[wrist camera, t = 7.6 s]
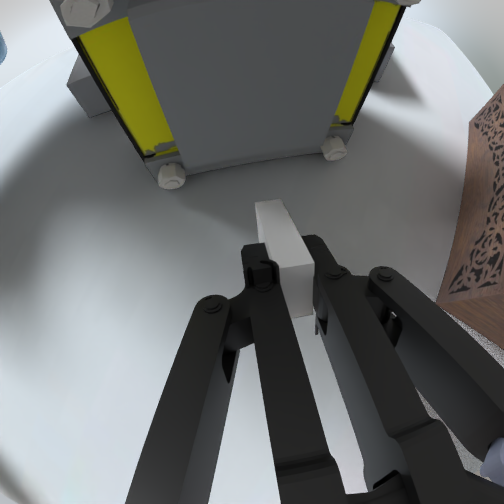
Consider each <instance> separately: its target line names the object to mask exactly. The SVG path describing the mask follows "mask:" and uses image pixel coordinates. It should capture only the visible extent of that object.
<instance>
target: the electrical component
mask: <svg viewBox="0 0 504 504" xmlns="http://www.w3.org/2000/svg"><path fill="white" fill-rule="evenodd" d="M420 1H421V0H50V2H51V4H52V6H53V8H54V10H55V12H56V14H57V16H58V18H59V20H60V22H61V24H62V25H63V27H64V29H65V31H66V33H67V35H68V36H69V38H70V40H71V41H72V42H73V44H74V46H75V48H76V50H77V52H78V53H79V55H80V57H81V59H82V60H83V62H84V64H85V66H86V67H87V69H88V71H89V73H90V74H91V76H92V78H93V80H94V81H95V83H96V85H97V86H98V88H99V90H100V92H101V93H102V95H103V97H104V98H105V100H106V102H107V103H108V105H109V107H110V108H111V110H112V112H113V113H114V115H115V116H116V118H117V120H118V121H119V123H120V125H121V126H122V128H123V129H124V131H125V133H126V134H127V136H128V138H129V139H130V141H131V142H132V144H133V145H134V147H135V149H136V150H137V152H138V153H139V155H140V157H141V158H142V160H143V161H144V163H145V165H146V167H147V168H148V170H149V171H150V173H151V174H152V176H153V177H154V179H155V180H156V182H157V183H159V186H160V187H161V188H163V189H176V188H179V187H181V186H182V185H183V184H184V182H185V180H186V179H185V176H188V175H192V174H197V173H201V172H206V171H211V170H216V169H221V168H226V167H231V166H236V165H241V164H247V163H253V162H259V161H265V160H271V159H277V158H284V157H291V156H298V155H306V154H313V153H322V152H323V155H324V157H325V159H326V160H327V161H335V160H338V159H341V158H343V157H344V156H345V155H346V154H347V153H348V152H347V150H346V147H345V146H346V144H347V142H348V140H349V138H350V136H351V134H352V132H353V130H354V128H353V124H354V122H355V120H356V118H357V116H358V114H359V111H360V109H361V107H362V105H363V103H364V101H365V99H366V97H367V95H368V92H369V90H370V88H371V86H372V84H373V82H374V79H375V77H376V75H377V73H378V71H379V69H380V66H381V64H382V62H383V60H384V57H385V55H386V53H387V51H388V49H389V46H390V44H391V42H392V39H393V37H394V35H395V33H396V30H397V28H398V26H399V23H400V21H401V19H402V16H403V14H404V11H405V9H406V7H411V5H413V4H418V3H419V2H420Z"/></svg>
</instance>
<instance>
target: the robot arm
mask: <svg viewBox="0 0 504 504" xmlns="http://www.w3.org/2000/svg"><path fill="white" fill-rule="evenodd" d="M6 54H7V46H6V44H5V41H4V39H3V37H2V34H1V32H0V65H1V63H2V62H3V61H4V59H5V57H6ZM255 209H256V218H257V228H258V237H259V243H257V244H250V245H244V247H243V248H242V250H241V257H242V264H243V272H244V279H245V288H244V290H243V291H242V292H241V293H240V294H239V295H237V296H235V297H233V298H231V299H227V298H226V297H224V296H221V295H209V296H207V297H204V298H202V299H201V300H200V301H198V303H197V304H196V306H195V308H194V311H193V313H192V316H191V318H190V321H189V323H188V326H187V328H186V331H185V334H184V336H183V339H182V341H181V344H180V347H179V349H178V352H177V354H176V357H175V360H174V362H173V365H172V368H171V370H170V373H169V376H168V379H167V381H166V384H165V387H164V389H163V392H162V395H161V398H160V401H159V403H158V406H157V409H156V412H155V415H154V417H153V420H152V423H151V426H150V429H149V432H148V435H147V438H146V441H145V443H144V446H143V449H142V452H141V455H140V458H139V461H138V464H137V467H136V470H135V474H134V477H133V480H132V483H131V486H130V489H129V492H128V496H127V499H126V502H125V504H208V501H209V497H210V492H211V487H212V483H213V478H214V473H215V469H216V464H217V459H218V455H219V450H220V445H221V440H222V436H223V431H224V426H225V421H226V416H227V412H228V407H229V402H230V397H231V392H232V387H233V382H234V378H235V373H236V368H237V363H238V358H239V353H240V349H241V348H243V347H246V346H248V345H250V344H253V343H254V344H255V350H256V357H257V363H258V369H259V375H260V382H261V388H262V394H263V400H264V406H265V412H266V418H267V424H268V430H269V436H270V442H271V448H272V454H273V460H274V466H275V472H276V478H277V483H278V489H279V495H280V500H281V504H504V368H503V367H502V366H501V365H500V364H499V363H498V362H497V361H496V360H495V359H494V358H493V357H492V356H491V355H490V354H489V353H488V352H487V351H486V350H485V349H484V348H483V347H482V346H481V345H480V344H479V343H478V342H477V341H476V340H475V339H474V338H473V337H471V336H470V335H469V334H468V333H467V332H466V331H465V330H464V329H463V328H462V327H461V326H460V325H459V324H458V323H456V322H455V321H454V320H453V319H452V318H451V317H450V316H449V315H448V314H446V313H445V312H444V311H443V310H442V309H441V308H440V307H439V306H437V305H436V304H435V303H434V302H433V301H432V300H431V299H429V298H428V297H427V296H426V295H425V294H424V293H422V292H421V291H420V290H419V289H418V288H416V287H415V286H414V285H413V284H412V283H410V282H409V281H408V280H407V279H406V278H404V277H403V276H402V275H401V274H400V273H398V272H397V271H396V270H394V269H392V268H389V267H384V266H380V267H375V268H374V269H372V270H371V272H370V273H369V276H355V275H351V273H350V272H349V271H348V270H347V269H346V268H345V267H343V266H340V265H338V264H337V262H336V261H335V259H334V257H333V256H332V254H331V253H330V251H329V249H328V248H327V246H326V245H325V243H324V241H323V240H322V239H321V238H320V237H318V236H317V235H315V234H314V235H307V236H300V234H299V232H298V230H297V228H296V226H295V224H294V222H293V221H292V219H291V217H290V215H289V213H288V211H287V209H286V208H285V206H284V204H283V202H282V200H281V199H275V200H268V201H260V202H255ZM313 306H314V309H315V311H316V323H315V335H318V329H319V332H320V335H321V338H322V340H323V343H324V346H325V349H326V351H327V354H328V357H329V360H330V362H331V365H332V368H333V371H334V374H335V376H336V379H337V382H338V385H339V388H340V391H341V394H342V397H343V399H344V402H345V405H346V408H347V411H348V414H349V417H350V420H351V423H352V426H353V429H354V432H355V435H356V438H357V442H358V445H359V448H360V451H361V454H362V457H363V461H364V470H363V472H364V479H365V483H366V486H367V490H368V492H367V493H357V494H346V493H345V490H344V486H343V482H342V478H341V475H340V471H339V468H338V465H337V463H336V461H335V459H334V458H333V457H332V456H331V454H330V452H329V449H328V445H327V442H326V438H325V434H324V431H323V427H322V424H321V420H320V417H319V413H318V410H317V406H316V402H315V399H314V395H313V392H312V388H311V385H310V382H309V378H308V375H307V371H306V368H305V364H304V361H303V358H302V354H301V351H300V347H299V344H298V341H297V337H296V334H295V331H294V327H293V324H292V321H291V318H297V317H302V316H308V315H313ZM392 311H393V312H394V313H395V314H396V315H397V316H396V317H395V316H394V315H393V314H392ZM414 386H415V387H416V389H417V390H418V391H419V392H420V393H421V394H422V396H423V397H424V398H425V399H426V400H427V402H428V403H429V404H430V405H431V406H432V408H433V409H434V410H435V411H436V413H437V414H438V415H439V416H440V417H441V419H442V420H443V421H444V422H445V424H446V425H447V426H448V427H449V428H450V430H451V431H452V432H453V433H454V435H455V436H456V437H457V438H458V440H459V441H460V442H461V443H462V444H463V446H464V447H465V448H466V449H467V450H468V451H469V452H470V453H471V454H472V455H474V456H475V457H476V458H477V459H479V460H481V461H482V462H484V463H483V464H482V465H481V467H480V474H481V476H483V477H489V478H490V479H491V480H492V482H491V481H489V480H487V479H484V478H482V477H480V476H477V475H475V474H473V473H471V472H469V471H467V470H465V469H464V467H463V464H462V462H461V460H460V457H459V455H458V452H457V450H456V448H455V445H454V443H453V441H452V439H451V436H450V434H449V432H448V430H447V428H446V426H445V425H444V423H443V422H441V421H440V420H438V419H432V418H431V417H429V415H428V413H427V411H426V409H425V407H424V405H423V403H422V401H421V399H420V397H419V395H418V393H417V391H416V389H415V387H414Z"/></svg>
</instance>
